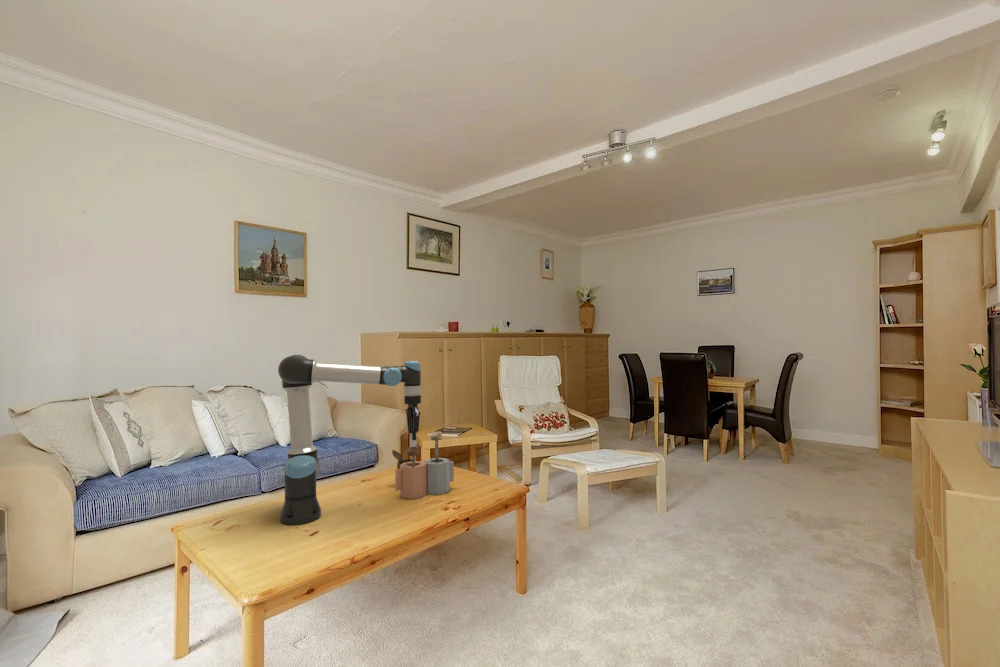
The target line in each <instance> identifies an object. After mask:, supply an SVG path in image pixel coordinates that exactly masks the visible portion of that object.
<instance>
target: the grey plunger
mask: <svg viewBox="0 0 1000 667" xmlns="http://www.w3.org/2000/svg"><path fill="white" fill-rule="evenodd" d="M430 436H431V437H430V439H431V441H434V447H435V450H434V451H435V452H434V458H435V463H438V458H439V441H442V440H443V432H442V431H431V432H430Z"/></svg>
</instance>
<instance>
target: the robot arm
mask: <svg viewBox="0 0 1000 667" xmlns="http://www.w3.org/2000/svg"><path fill="white" fill-rule="evenodd" d="M277 368H278V369H277V372H278V376H279V378H280V379H281V385H282V389H283V390H284V391H286V395H287V396H286V397H287V410H288V421H289V422H288V423H289V435H290V449H289V450H288V451H287V460H286V461H285V463H284V467H283V472H284V502H283V504H282V508H281V511H280V513H279V522H280V523H281V524H283V525H289V526H292V525H297V526H298V525H303V524H308V523H312V522H314V521H317V520H318V519H320V517H321V516H322V508H321V506H320V503H319V501H318V497H317V476H318V472H319V470H320V460H319V457H318V455H319V454H318V448H317V447H316V446H315V445H314V442H313V429H312V416H311V405H310V404H311V403H310V391H309V390H310V388H311V387H312V386H313V384H314V383H315V382H327V383H328V382H331V383H345V384H346V383H347V384H365V385H367V384H368V385H382V386H389V387H395V386H397V385H399V384H400V383H403V394H404V396H403V397H404V398H403V399H404V400H403V401H404V405H407V408H406V409H405V413H406V422H407V424H406V425H407V431H409V447H411V448H412V447H418V445H417V444H418V440H417V438H418V437H417V433H419V430H420V418H421V416H420V415H421V411H419V407H418V405H419V404H421V403H422V395H421V393H422V389H423V388H422V387H421V386H422V385H421V384H422V383H421V382H422V380H421V379H422V378H421V377H422V375H421V372H422V370H421V363H420V361H419V360H409V361H408V360H407V361H404V362H403V365H390V366H389V365H386V366H385V365H384V366H376V365H375V366H374V365H359V364H346V363H330V362H329V363H328V362H318V361H317V360H316V359H311V358H310V359H308V358H307V357H305V355H302V354H292V355H290V356H286V357H284V358H283V359H282V360H281V361H280V363H279V364H278V367H277Z"/></svg>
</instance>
